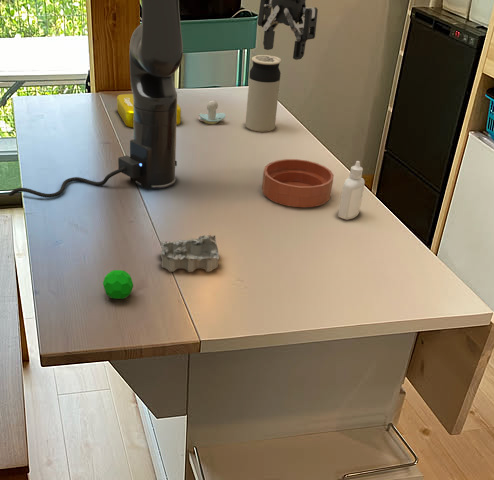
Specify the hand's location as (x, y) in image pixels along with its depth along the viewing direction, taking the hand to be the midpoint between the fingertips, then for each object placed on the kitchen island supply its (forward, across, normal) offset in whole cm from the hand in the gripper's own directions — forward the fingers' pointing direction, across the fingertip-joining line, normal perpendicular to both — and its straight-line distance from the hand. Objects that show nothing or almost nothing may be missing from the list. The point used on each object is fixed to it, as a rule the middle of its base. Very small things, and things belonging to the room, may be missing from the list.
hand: (282, 54), depth 151 cm
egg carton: (+28, +20, -42) cm, 54 cm away
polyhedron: (+28, +22, -59) cm, 69 cm away
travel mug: (+27, -23, +20) cm, 41 cm away
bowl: (+27, +12, -3) cm, 30 cm away
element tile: (+28, -46, 0) cm, 53 cm away
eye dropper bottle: (+27, +25, -2) cm, 37 cm away
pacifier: (+27, -34, +12) cm, 45 cm away
